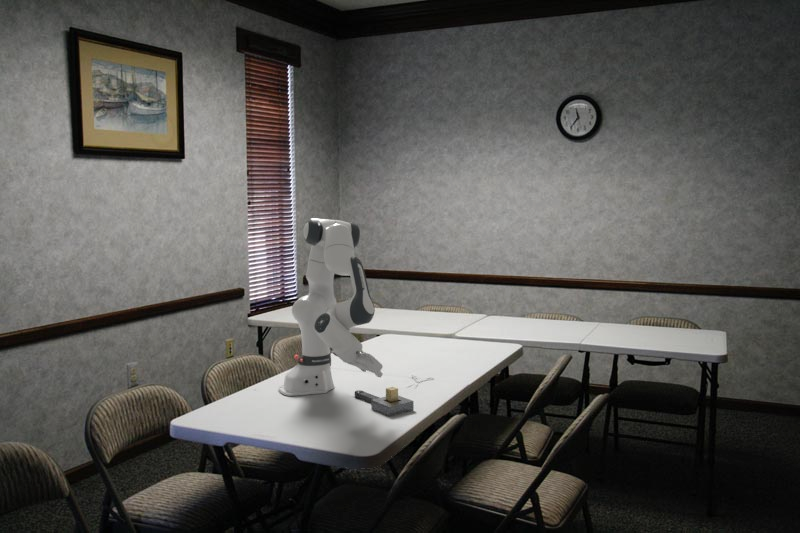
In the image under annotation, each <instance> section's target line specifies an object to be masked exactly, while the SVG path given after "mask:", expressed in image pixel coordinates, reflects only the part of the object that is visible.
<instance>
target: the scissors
mask: <svg viewBox="0 0 800 533" xmlns="http://www.w3.org/2000/svg"><path fill="white" fill-rule="evenodd" d="M412 377H413V378H412ZM416 377H417V378H418V379H419V377H418V376H415V375H413V374H412V375H411V376H410V379H411V378H412V379H411V380H414V381H415V380H416V381H415V383H419V384H420V383H422V382H426V381H433V380H435V378H434V377H431V378H430V377H427V378H425V379H423V380H418V379H417V378H416ZM419 384H417V385H416V387H415V386H414V389H417V387H418V386H419Z"/></svg>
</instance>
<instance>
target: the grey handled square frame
mask: <svg viewBox="0 0 800 533" xmlns="http://www.w3.org/2000/svg"><path fill="white" fill-rule="evenodd" d="M354 398H356V399H358V400H362V401H364V402H367V403H369V404H370V405H371V410H372V411H375V412H377V413H380V414H381V415H385V416H387V417H393V416H397V415H400V414H405V413H409V412H411V411H414V400H411V399H409V398H406V397H403V396H400V395H398V402H394V403H389V402H386V396H382V397H379V396H376V395H374V394H371V393H369V392H366V391H364V390H359V389H358V390H355V391H354Z"/></svg>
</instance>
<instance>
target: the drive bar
mask: <svg viewBox="0 0 800 533" xmlns="http://www.w3.org/2000/svg"><path fill="white" fill-rule="evenodd" d="M398 396H399V388H397V387H394V386H391V387H390V386H389V387H386V388H385V397H386V402H389V403H394V402H398Z"/></svg>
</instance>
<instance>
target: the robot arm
mask: <svg viewBox="0 0 800 533" xmlns="http://www.w3.org/2000/svg"><path fill="white" fill-rule="evenodd" d="M302 232H303V239H304V241H305V243H307V244H309V245H311V246H310V251H309V255H308V261H307V266H306V274H305V278H306V280H307V283H308V294H306V295H303V296H301V297H299V298H298V299H297V300H295V302H294V303H293V305H292V308H291V313H292V316H293V318H294V320H296V322H297V323H298V327H299V329H300V334H301V348H302V350H301V351H302V352H301V354H300V355H299V354H295V355H293V357H294V359H295V360H296V361H297V364H296V365H295V366H293V368H291V369H290V370H289V371H288V372H287V373H286V374H285V376H284V382H283V385H279V386H278V392H279V393H280V394H282V395H284V396H289V397H294V396H295V397H296V396H305V395H317V394H327V392H329V391H330V390H333V389H334V388H335V383H334V381H333V376H332V370H331V367H332V355H334V356H335V357H338V358H339V359H340V360H341V361H342V362H343V363H346V364H347V365H351V366H353V367H356V368H358V369H360V370H361V371H362V372H365V373H366V372H370V373H373V374H374V375H375V376H376V377H377V378H382V376H383V373H382V371H381V370H382V369H383V367H384V366H383V364H382V363H381V362H380V361H379V360H378V359H376V358H375V357H374V355H372V354H370V353H369V352H366V351H363V344H362V342H361V341H360V340H358V338H357V337H355V335H354V334H352V333H351V332H350V330H351V328H354V327H357V326H362V325H366V324H369V323H371V321H372V320H373V318H374V315H375V311H376V310H375V305H374V303H373V300H372V297H371V294H370V288H369V284H368V281H367V277H366V273H365V269H364V265H363V263H362V261H361V260H360V259H359V257H356V256H355V248H356V247H357V246H358V244H359V242H360V240H361V229H360V227H359V225H358V224H356V223H354V222H351V221H349V222H347V221H344V220H339V219H330V218H329V219H327V218H317V217H316V218H315V217H313V218H309V219H308V220H306V222H305V224H304V227H303V231H302ZM335 275H337V276H338V275H339V276H346V277H347V276H348V277H349V276H350V277H349V278H350V281H351V282H350V283H351V286H352V290H353V291H352V292H353V295H352V297H350V298H348V299H346V300H344V301H341V302H337V298H336V297H335V293H334V292H335V291H334V278H335ZM331 349H332V350H331ZM330 350H331V352H330ZM331 353H332V354H331Z"/></svg>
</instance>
